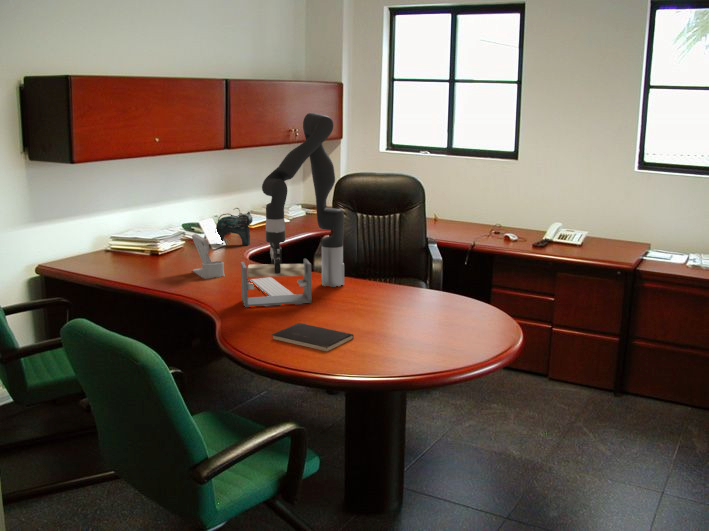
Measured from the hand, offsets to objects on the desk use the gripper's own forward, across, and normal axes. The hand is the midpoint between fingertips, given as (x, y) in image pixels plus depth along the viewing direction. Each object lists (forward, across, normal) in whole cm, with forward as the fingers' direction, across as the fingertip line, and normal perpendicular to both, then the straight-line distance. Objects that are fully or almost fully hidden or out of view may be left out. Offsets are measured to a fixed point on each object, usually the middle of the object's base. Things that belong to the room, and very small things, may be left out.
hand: (276, 271), depth 305 cm
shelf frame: (+13, 0, 0) cm, 13 cm away
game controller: (+13, -114, -5) cm, 115 cm away
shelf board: (+1, 0, 0) cm, 1 cm away
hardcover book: (+14, +47, +5) cm, 49 cm away
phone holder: (+13, -53, -23) cm, 60 cm away
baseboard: (+14, -21, 0) cm, 25 cm away
